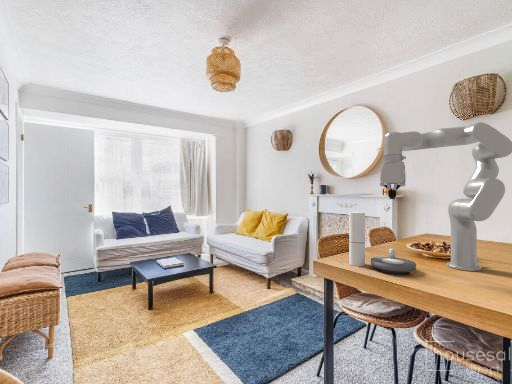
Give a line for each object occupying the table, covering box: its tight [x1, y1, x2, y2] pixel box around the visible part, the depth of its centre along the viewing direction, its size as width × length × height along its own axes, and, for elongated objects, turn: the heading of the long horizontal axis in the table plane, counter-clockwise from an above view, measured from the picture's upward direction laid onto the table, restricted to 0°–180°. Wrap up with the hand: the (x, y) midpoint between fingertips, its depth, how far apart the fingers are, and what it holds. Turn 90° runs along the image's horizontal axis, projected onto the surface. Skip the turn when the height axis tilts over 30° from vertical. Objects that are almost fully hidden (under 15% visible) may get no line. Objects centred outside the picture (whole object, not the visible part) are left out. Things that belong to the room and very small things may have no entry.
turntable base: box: [377, 268, 409, 275], centre depth 120 cm, size 12×12×2 cm
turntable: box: [370, 248, 417, 273], centre depth 120 cm, size 18×18×6 cm
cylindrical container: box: [348, 211, 366, 267], centre depth 130 cm, size 7×7×25 cm
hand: (392, 198), depth 125 cm, fingers closed
